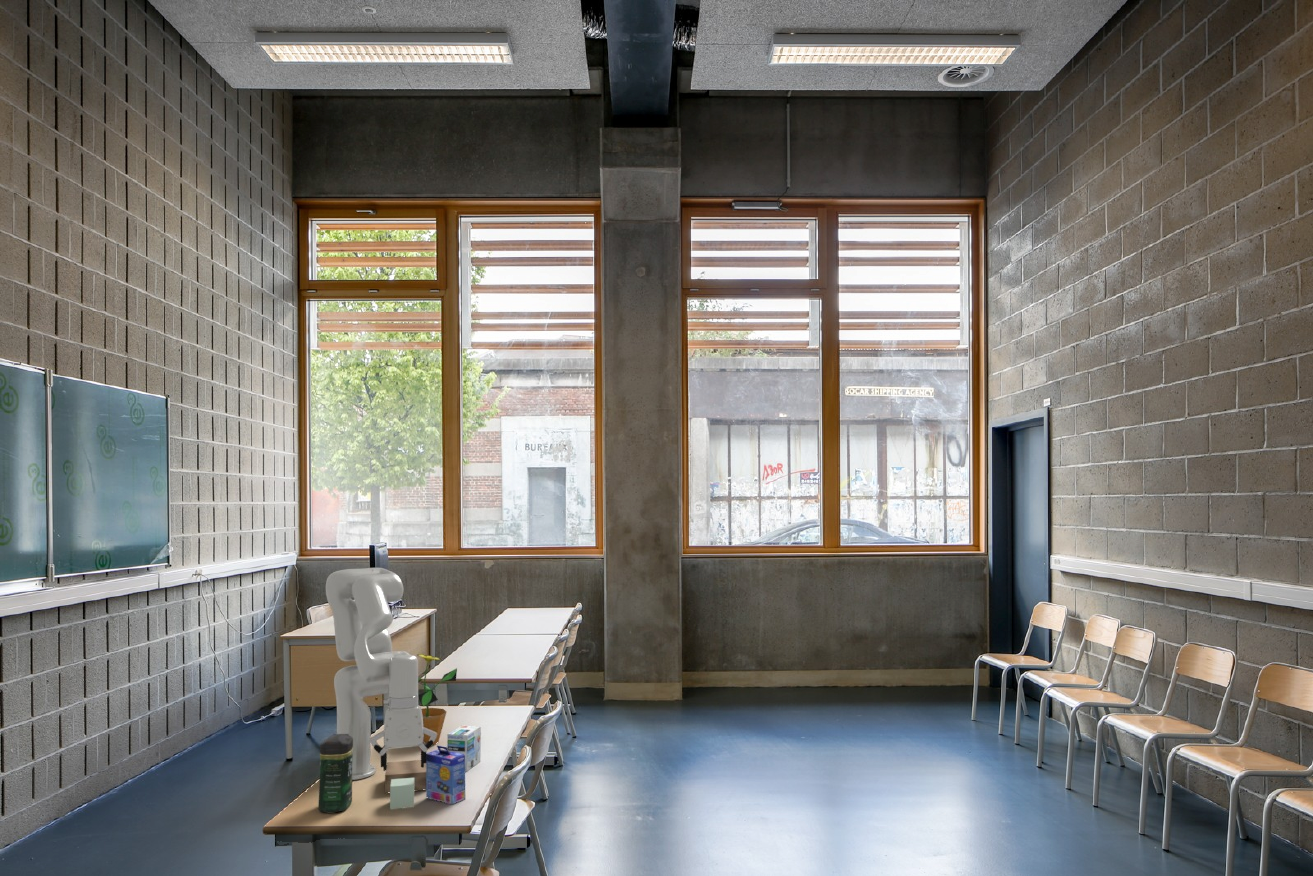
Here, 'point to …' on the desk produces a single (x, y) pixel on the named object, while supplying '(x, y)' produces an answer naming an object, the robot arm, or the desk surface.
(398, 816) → the desk surface
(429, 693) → the potted plant
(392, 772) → the walnut block
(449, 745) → the light bulb box
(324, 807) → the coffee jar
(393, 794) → the sage block
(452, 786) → the ink cartridge box
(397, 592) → the robot arm
